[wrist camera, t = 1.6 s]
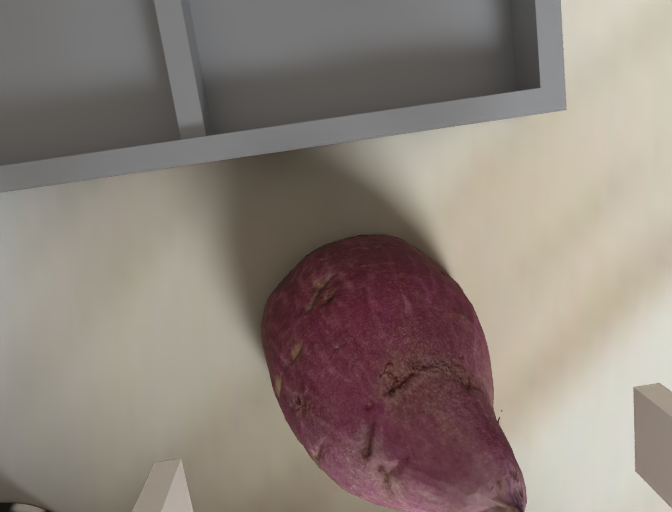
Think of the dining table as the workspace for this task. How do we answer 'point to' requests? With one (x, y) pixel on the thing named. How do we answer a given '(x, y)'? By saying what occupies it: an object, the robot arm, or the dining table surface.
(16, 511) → the white-spotted black cylinder
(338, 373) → the vegetable
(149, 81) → the grey compartment tray
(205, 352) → the dining table surface
